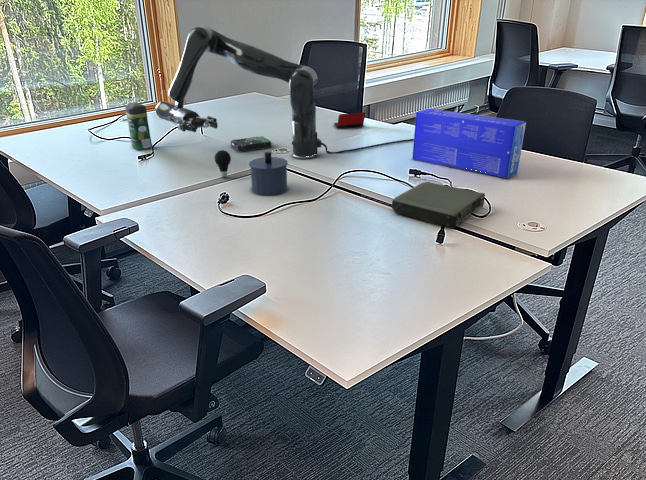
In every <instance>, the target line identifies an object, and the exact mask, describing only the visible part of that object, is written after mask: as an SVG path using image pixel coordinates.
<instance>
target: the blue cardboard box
mask: <svg viewBox="0 0 646 480" xmlns="http://www.w3.org/2000/svg"><path fill="white" fill-rule="evenodd" d="M526 126H527V121H524V120H518V119H517V120H516V119H511V118H502V117H495V116H487V115H478V114H473V113H464V112H457V111H449V110H442V109H434V108H424V109H422V110H418V111H416V112H415V120H414V132H413V133H414V135H413V139H414V141H413V144H412V145H413V146H412V160H414V161H418V162H424V163H427V164H433V165H438V166H441V167H448V168H452V169H458V170H462V171H468V172H474V173H479V174H484V175H489V176H495V177H500V178H504V179H510V178H511V177H513V176H515V175H516V174H518V171H519V165H520V162H521V161H520V160H521V155H522V149H523V143H524V137H525V131H526ZM466 168H467V169H466ZM471 169H472V170H471ZM475 170H477V171H475ZM480 171H481V172H480ZM485 172H486V173H485Z"/></svg>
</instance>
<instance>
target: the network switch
mask: <svg viewBox="0 0 646 480" xmlns="http://www.w3.org/2000/svg"><path fill="white" fill-rule="evenodd" d="M485 198H486V194H485V193H484V192H480V191H474V190H470V189H464V188H460V187H455V186H449V185H444V184H439V183H435V182H431V181H423V182H421V183H419V184H417V185H415V186H413V187H411V188H409V189H408V190H406V191H404V192H402V193H401V194H399V195H397V196H395V197H394V198H393V199H392V201H391V209H392V211H394V213H395V214H397V215H400V216H403V217H408V218H411V219H412V218H413V219H416V220H418V221H419V220H420V221H423V222H428V223H431V224H434V225H437V226H441V227H442V228H443V227H444V228H446V229H450V230H453V229H455V228H456V227H457V226H458V225H459V224H461V223H462V222H463V221H465V220H466V219H467V218H468V217H469V216H471V215H472V214H473V213H475V212H477V211H478V210H479V209H480V208H482V207H484V204H485ZM470 214H471V215H470ZM443 223H444V224H443ZM443 225H444V226H443Z"/></svg>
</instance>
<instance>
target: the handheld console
mask: <svg viewBox="0 0 646 480" xmlns="http://www.w3.org/2000/svg"><path fill="white" fill-rule="evenodd" d="M365 118H366V112H351V113H341V114H339V115H338V118H337V122H334V123H333V125H334V127H336V129H338V130H340V129H350V128H362V127H364V123H365Z"/></svg>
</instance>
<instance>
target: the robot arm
mask: <svg viewBox="0 0 646 480" xmlns="http://www.w3.org/2000/svg"><path fill="white" fill-rule="evenodd" d="M188 32H189V33H188V35H187V38H186V43H185V46H184V51H183V54H182V57H181V61H180V63H179V66H178V68H177V71H176V73H175V75H174V77H173V80H172V82H171V84H170V87H169V89H168V91H167V92H168V93H167V94H168V97H169V98H170V99H171V100H173V101H175V103H172V102H170V101H167V100H161V101H159V102H158V103H157V104H156V106H155V114H156V116H157V117H158V118H159V119H161V120H164V121H167V122H171V123H173V124H174V125H176V126H177V130H180V131H182V132H186V131H188V132H192V133H197V130H198V129H203V128H204V129H207V128H212V129H215V130H216V129H218V121H217V120H218V119H217V118H216V117H213V116H209V115H207V116H206V117H201V116H200V115H199V113H198V112H196V111H194V110H191V109H189V108H185V107H184V106H185V103H186V102H185V100H186V98H187V96H188V93H189V91H190V90H191V87H192V84H193V81H194V80H193V79H194V75H195V71H196V68H197V66H198V63H199V61H200V59H201V58H202V56H203V55H204V54H205V53H208V54H209V53H210V54H213V55H217V56H219V57H221V58H225V59H227V60H228V61H230V62H231V63H232V64H234V65H235V66H236V67H238V68H240V69H241V70H244V71H246V72H248V73H251V74H253V75H257V76H259V77H265V78H271V79H277V80H281V81H284V82H286V83H287V84H288V85H289V86H288V87H289V104H290V107H291V125H292V126H291V127H292V128H291V129H292V133H291V134H292V141H291V145H292V157H293V158H295V159H299V160H307V159H313V158H316V157H318V148H322V146H323V147H324V149H325V152H326V153H327V154H342V153H349V152H354V151H360V150H361V151H362V150H366V149H370V148H377V147H381V146H387V145H391V144H398V143H405V142H414V138H409V139H400V140H394V141H388V142H382V143H378V144H372V145H367V146H361V147H356V148H351V149H344V150H338V151H333V152H332V151H330V150H328V146H327V145H326V144H325V143H324V142H322V140H321V139H320V138H319V137H318V132H317V117H316V116H317V114H316V113H317V109H316V108H317V107H316V103H315V98H314V97H315V95H314V91H315V90H314V89H315V88H316V86H317V84H318V75H317V73H316V71H315V70H314V69H313V68H311V67H309V66H307V65H302V64H299V63H296V62H292V61H288V60H286V59H284V58H282V57H280V56H277V55H275V54H274V53H271V52H269V51H266V50H264V49H262V48H259V47H258V46H254V45H252V44H249V43H246V42H243V41H240V40H237V39H233V38H230V37H228V36H225V35H224V34H222V33H220V32H218V31H217V30H215V29H213V28H211V27H209V26H206V25H201V26H195V27H193V28H192V29H190V31H188ZM327 150H328V151H327ZM314 154H317V155H314ZM312 155H313V156H312ZM306 156H309V157H306Z"/></svg>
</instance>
